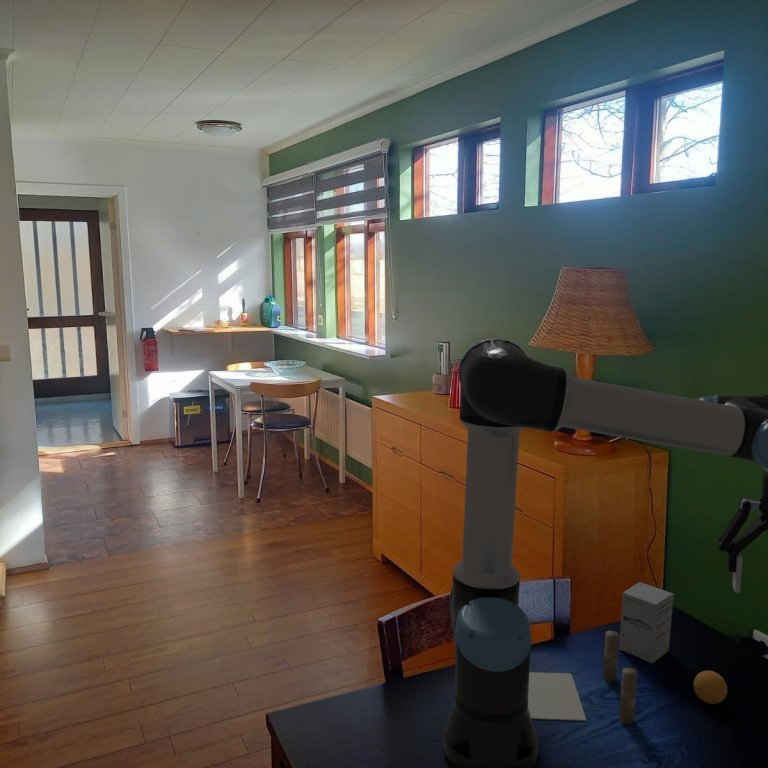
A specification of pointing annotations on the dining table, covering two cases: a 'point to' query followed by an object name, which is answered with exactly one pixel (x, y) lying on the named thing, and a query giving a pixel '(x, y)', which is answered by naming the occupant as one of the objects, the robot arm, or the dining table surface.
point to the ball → (710, 687)
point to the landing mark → (554, 697)
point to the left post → (611, 656)
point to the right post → (628, 695)
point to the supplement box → (646, 621)
